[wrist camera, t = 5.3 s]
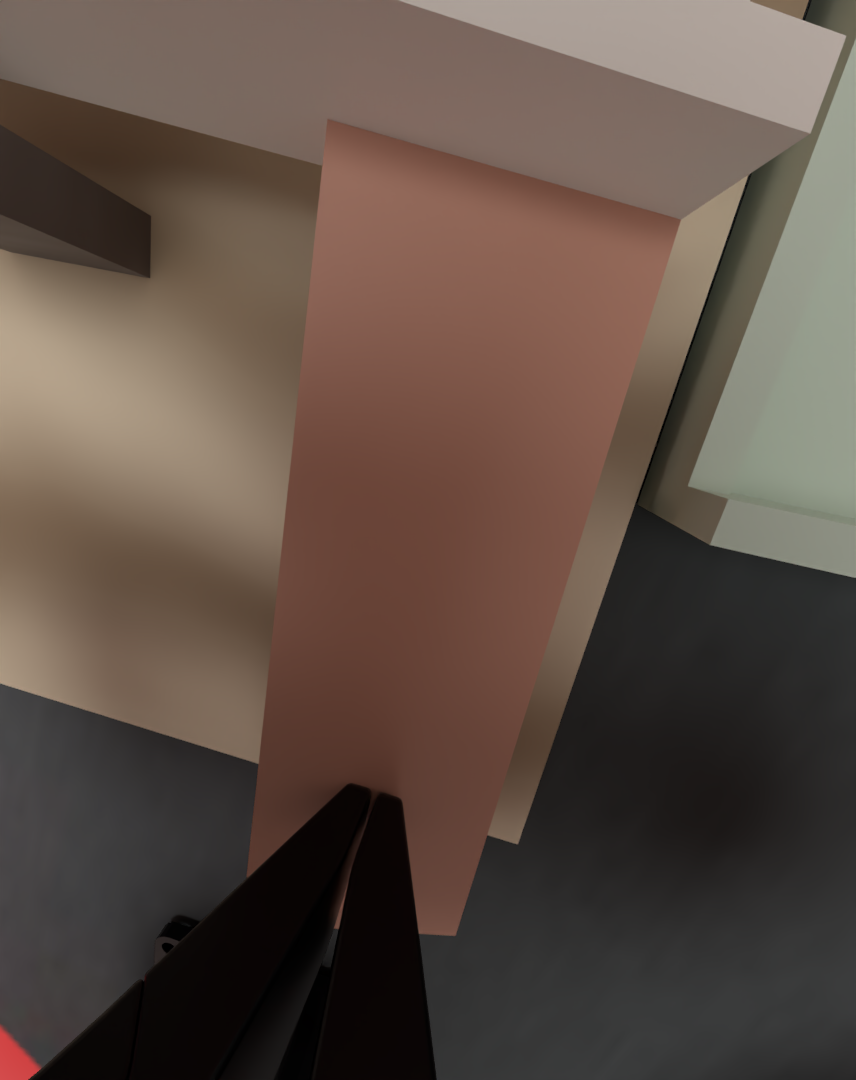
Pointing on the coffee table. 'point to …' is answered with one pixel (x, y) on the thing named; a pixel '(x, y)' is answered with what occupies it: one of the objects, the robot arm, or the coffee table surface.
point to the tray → (777, 356)
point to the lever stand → (211, 422)
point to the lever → (445, 332)
